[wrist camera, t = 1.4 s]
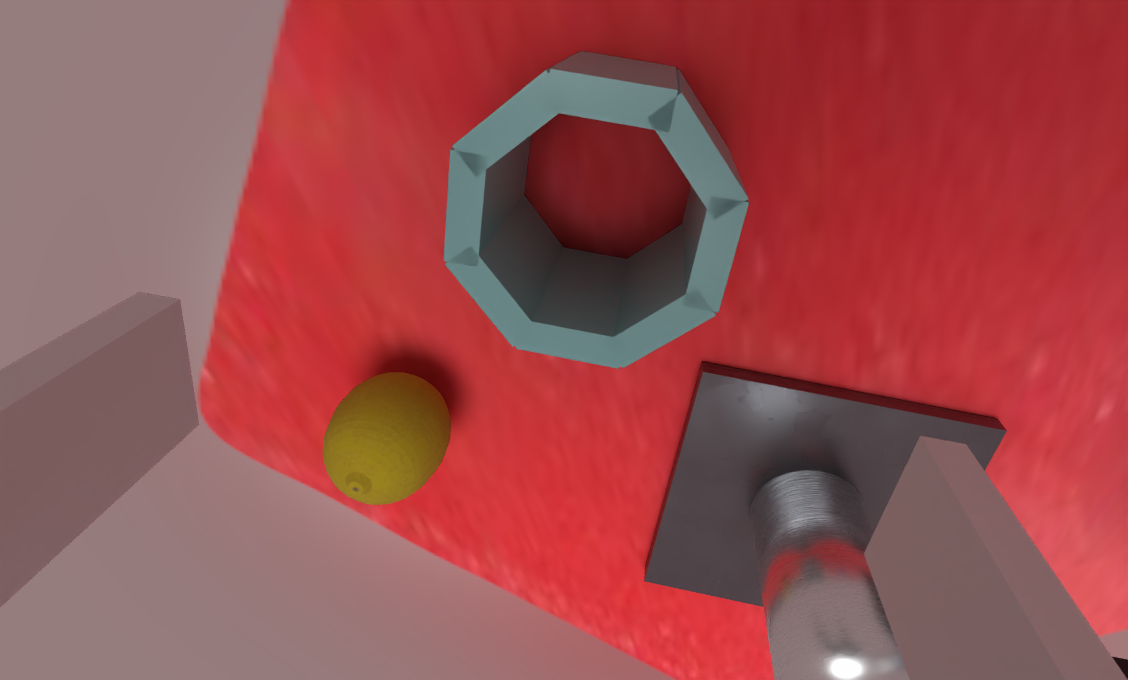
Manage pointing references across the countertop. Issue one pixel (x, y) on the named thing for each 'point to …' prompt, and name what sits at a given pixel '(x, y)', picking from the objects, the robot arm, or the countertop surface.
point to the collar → (578, 278)
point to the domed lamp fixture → (796, 510)
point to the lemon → (386, 438)
